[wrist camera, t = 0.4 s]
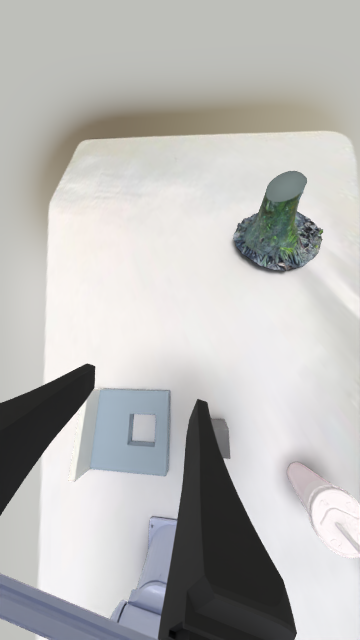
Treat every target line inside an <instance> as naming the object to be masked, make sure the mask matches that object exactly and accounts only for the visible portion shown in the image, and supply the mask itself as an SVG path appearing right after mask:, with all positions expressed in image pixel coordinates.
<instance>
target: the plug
mask: <svg viewBox="0 0 360 640" xmlns="http://www.w3.org/2000/svg"><path fill="white" fill-rule="evenodd" d="M211 422H212V426H213V429H214V433H215V436H216V439H217V443H218V446H219V449H220V452H221V454H222V457H223V458H227V459H230V446H229V431H228V427H227V424H226V422H225V419H211Z"/></svg>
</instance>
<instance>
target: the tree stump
mask: <svg viewBox="0 0 360 640" xmlns="http://www.w3.org/2000/svg"><path fill="white" fill-rule="evenodd" d="M306 183H307V178H306V177H305V176H304V175H303V174H302V173H300V172H297V171H288V172H285V173H282V174H280V175H278V176H277V177H276V178H274V179H273V180H272V181H271V182H270V183H269V185H268V186H267V189H266V193H265V196H264V199H263V202H262V205H261V207H260V210H259V212H258V213H257V214H254V215H252V216H251V217H248V218H247V219H246V218H245V219H243V221H242V222H241V224H240V223H238V226H237V227H238V228H237V230H236V232H235V233H234V241H235V243H236V246H237V248H238V249H239V250H240V251H241V252H242V254H243V255H245V256H247V257H248V258H249V259H251V260H253V261H254V262H256V263H257V264H259V265H260V266H264V267H266V268H269V269H273V270H282V271H286V270H289V269H293V268H297V267H301V266H304V265H305V264H306V263H307V262H309V260H312V259H313V258H314V257H315V256H316V255H317V254H318V252H319V248H320V245H321V241H322V238H321V234H322V233H323V229H322V230H321V228H317V226H316V225H315V223H314V222H312V221H311V220H310V219H309V218H307V217H305V216H304V215H302V214H300V213H299V212H297V207H298V203H299V200H300V197H301V195H302V193H303V190H304V187H305V185H306ZM303 230H304V231H303Z"/></svg>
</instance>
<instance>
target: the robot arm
mask: <svg viewBox="0 0 360 640" xmlns="http://www.w3.org/2000/svg"><path fill="white" fill-rule="evenodd" d="M94 385H95V366H93V365H90V364H85V365H83V366H81V367H79V368H77V369H75V370H73V371H71V372H69V373H67V374H65V375H64V376H62V377H60V378H57V379H55V380H53V381H51V382H49V383H47V384H45V385H43V386H41V387H39V388H37V389H34V390H32V391H30V392H28V393H25V394H23V395H20V396H18V397H15V398H13V399H10V400H8V401H5V402H2V403H0V515H1V514H2V512H3V511H4V509H5V508H6V506H7V504H8V503H9V501H10V500H11V498H12V497H13V495H14V494H15V492H16V491H17V490H18V488H19V487H20V485H21V484H22V482H23V481H24V479H25V478H26V476H27V475H28V473H29V472H30V470H31V469H32V468H33V466H34V465H35V463H36V462H37V461H38V459H39V458H40V457H41V455H42V454H43V452H44V451H45V450H46V448H47V447H48V446H49V444H50V443H51V442H52V440H53V439H54V438H55V437H56V435H57V434H58V433H59V432H60V431H61V429H62V428H63V427H64V426H65V425H66V424H67V422H68V421H69V420H70V419H71V418H72V417H73V415H74V414H75V413H76V412H77V411H78V410H79V408H80V407H81V406H82V405H83V404H84V402H85V401H86V400H87V398H88V397H89V395H90V394H91V392H92V391H93V389H94ZM151 524H153V526H152V525H151ZM0 618H1V619H3V620H6V621H8V622H10V623H13V624H15V625H17V626H19V627H22V628H24V629H26V630H28V631H31V632H33V633H35V634H38V635H40V636H42V637H44V638H47V639H49V640H294V639H295V637H296V634H297V632H296V627H295V623H294V618H293V614H292V610H291V606H290V602H289V598H288V595H287V592H286V588H285V585H284V581H283V579H282V577H281V576H280V574H279V572H278V570H277V569H276V567H275V565H274V563H273V562H272V560H271V558H270V556H269V554H268V553H267V551H266V549H265V547H264V545H263V544H262V542H261V540H260V538H259V536H258V534H257V532H256V530H255V528H254V527H253V525H252V523H251V521H250V519H249V517H248V515H247V512H246V510H245V508H244V506H243V504H242V502H241V500H240V498H239V496H238V494H237V492H236V489H235V487H234V485H233V482H232V480H231V478H230V475H229V473H228V470H227V468H226V465H225V463H224V460H223V457H222V454H221V452H220V449H219V446H218V443H217V439H216V436H215V433H214V429H213V426H212V422H211V418H210V414H209V409H208V404H207V402H205V401H202V400H199V399H197V401H196V404H195V406H194V409H193V411H192V414H191V417H190V419H189V424H188V430H187V436H186V448H185V461H184V474H183V485H182V493H181V499H180V506H179V513H178V519H177V520H171V519H163V518H156V517H152V518H151V519H150V522H149V544H148V554H147V558H146V561H145V564H144V567H143V570H142V574H141V577H140V580H139V583H138V586H137V589H136V590H134V589H133V590H132V592H131V595H130V598H129V601H128V604H127V601H125V600H122V601H121V602H120V603H119V605H118V606H117V607H116V608H115V610H114V611H113V613H112V616H111V618H110V619H108V618H106V617H103V616H101V615H98V614H96V613H94V612H91V611H89V610H87V609H84V608H82V607H79V606H77V605H75V604H72V603H70V602H67V601H65V600H63V599H60V598H58V597H56V596H53V595H51V594H48V593H46V592H44V591H41V590H39V589H36V588H34V587H32V586H29V585H27V584H25V583H22V582H20V581H17V580H15V579H13V578H10V577H8V576H5V575H3V574H0Z"/></svg>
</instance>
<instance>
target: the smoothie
mask: <svg viewBox="0 0 360 640" xmlns="http://www.w3.org/2000/svg"><path fill="white" fill-rule="evenodd" d="M287 475H288V478H289V480H290V482H291V484H292V486H293V488H294V489H295V491H296V493H297V495H298V497H299V499H300V500H301V502H302V504H303V506H304V508H305V510H306V511H307V513H308V516H309V520H310V522H311V525H312V527H313V529H314V531H315V532H316V534H317V535H318V536H319V537H320V539H321V540H322V542H323V543H324V544H325V545H326V546H327V547H328V548H329V549H330V550H331V551H333V552H334V553H336V554H338V555H340V556H342V557H345V558H358V557H360V504H359V503H358V502H357V501H356V500H355V499H354V498H353V497H352V496H351V495H350V494H349V493H348V492H347V491H345V490H343V489H342V488H340V487H337V486H334V485H332V484H331V483H329V482H328V481H326V480H325V479H323V478H322V477H320V476H319V475H317V474H316V473H315V472H313V471H312V470H310V469H309V468H307V467H306V466H304V465H303V464H301V463H298V462H294V463H292V464H290V465H289V467H288V470H287Z"/></svg>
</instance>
